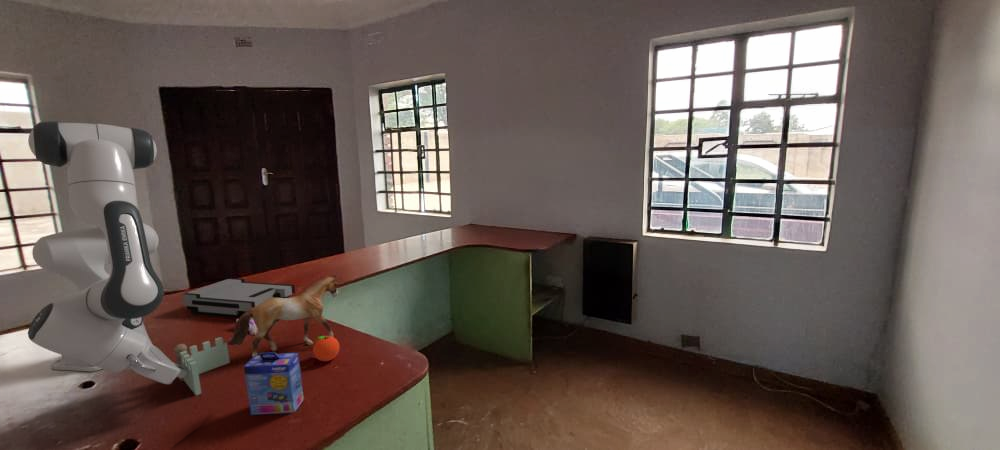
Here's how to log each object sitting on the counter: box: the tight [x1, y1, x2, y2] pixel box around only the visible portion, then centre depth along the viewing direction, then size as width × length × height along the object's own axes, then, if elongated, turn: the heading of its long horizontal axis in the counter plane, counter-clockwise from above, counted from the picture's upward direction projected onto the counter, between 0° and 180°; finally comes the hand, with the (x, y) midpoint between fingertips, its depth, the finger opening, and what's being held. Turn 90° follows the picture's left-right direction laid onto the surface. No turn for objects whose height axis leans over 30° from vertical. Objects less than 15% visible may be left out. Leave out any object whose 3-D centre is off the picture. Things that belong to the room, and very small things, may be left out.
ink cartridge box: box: [243, 351, 305, 416], centre depth 90 cm, size 10×6×14 cm, turn 95°
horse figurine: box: [227, 274, 340, 358], centre depth 117 cm, size 31×8×21 cm, turn 123°
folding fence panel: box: [180, 351, 202, 396], centre depth 98 cm, size 10×1×8 cm, turn 50°
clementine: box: [312, 335, 341, 362], centre depth 113 cm, size 8×7×7 cm
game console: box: [181, 277, 296, 319], centre depth 156 cm, size 21×32×8 cm, turn 76°
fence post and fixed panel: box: [173, 336, 230, 382], centre depth 106 cm, size 11×3×10 cm, turn 144°
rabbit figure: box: [235, 316, 258, 336], centre depth 133 cm, size 6×6×15 cm
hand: (183, 372), depth 98 cm, fingers closed
